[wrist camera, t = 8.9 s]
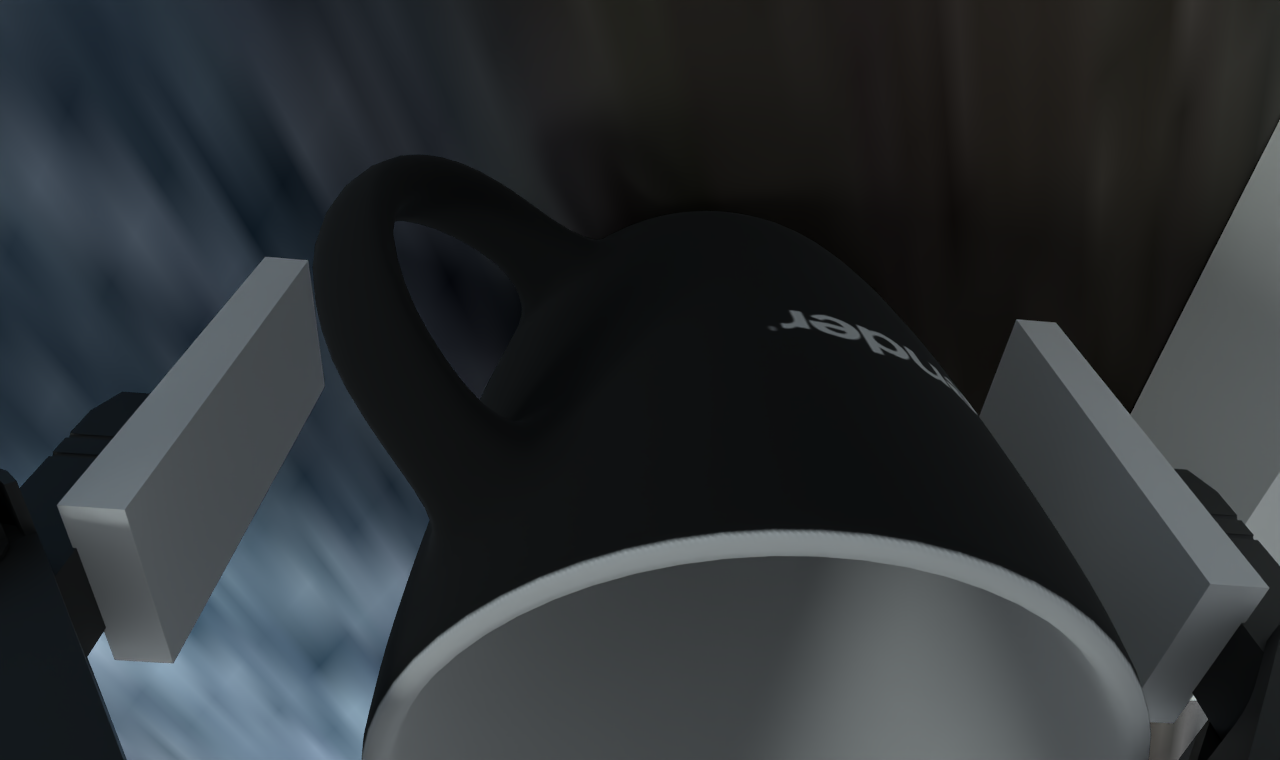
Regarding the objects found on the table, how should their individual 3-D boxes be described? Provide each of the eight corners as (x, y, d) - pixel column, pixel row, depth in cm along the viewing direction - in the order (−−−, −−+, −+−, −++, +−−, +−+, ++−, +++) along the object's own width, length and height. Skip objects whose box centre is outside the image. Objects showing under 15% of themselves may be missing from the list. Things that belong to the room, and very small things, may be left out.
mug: (988, 366, 19) (1280, 833, 10) (669, 561, 22) (691, 1038, 13) (618, -118, 13) (595, 21, 5) (273, 231, 17) (-89, 667, 8)
